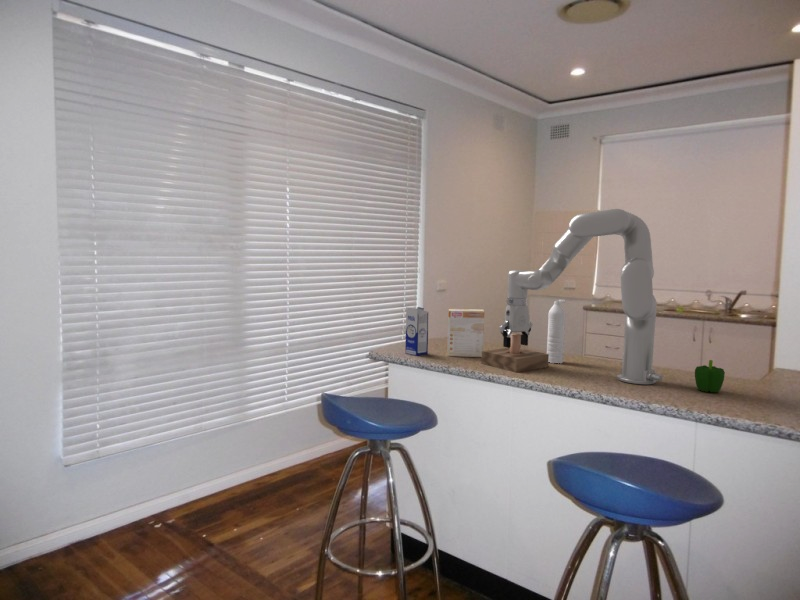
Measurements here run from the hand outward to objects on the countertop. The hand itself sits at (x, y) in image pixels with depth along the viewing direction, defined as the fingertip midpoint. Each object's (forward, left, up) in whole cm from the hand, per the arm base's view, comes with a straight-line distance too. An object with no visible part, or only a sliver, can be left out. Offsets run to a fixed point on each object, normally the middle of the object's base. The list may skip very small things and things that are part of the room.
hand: (515, 346), depth 210 cm
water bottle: (-4, -20, -8) cm, 22 cm away
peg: (0, 0, -8) cm, 8 cm away
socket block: (0, 0, -8) cm, 8 cm away
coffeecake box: (+25, +3, -8) cm, 27 cm away
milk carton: (+38, +19, -8) cm, 43 cm away
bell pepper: (-61, -25, -8) cm, 66 cm away
